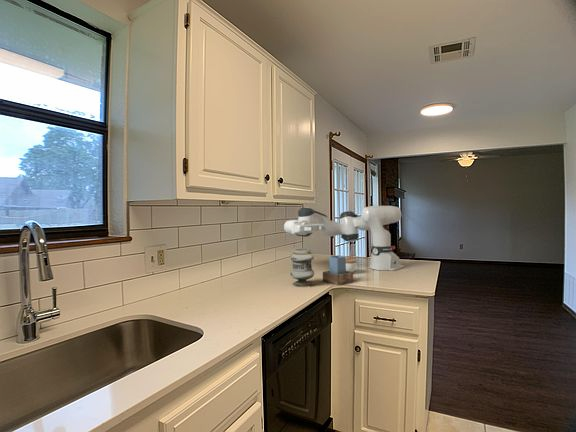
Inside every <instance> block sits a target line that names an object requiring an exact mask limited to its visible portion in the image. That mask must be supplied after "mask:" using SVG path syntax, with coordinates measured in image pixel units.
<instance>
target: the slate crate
mask: <svg viewBox="0 0 576 432" xmlns="http://www.w3.org/2000/svg"><path fill="white" fill-rule="evenodd" d="M328 257H329V259H328V260H329V262H328V263H329V264H328V267H329V269H328V271H329V273H332V274H337V275H339V274H344V273H346V258H347V256H342V255H333V256H331V255H330V256H328Z"/></svg>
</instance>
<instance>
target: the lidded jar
mask: <svg viewBox="0 0 576 432" xmlns="http://www.w3.org/2000/svg"><path fill="white" fill-rule="evenodd" d="M357 263H358V260H357V259H355V258H349V256H346V271H349V272H353V273H354V272H355V271H356V269H357V266H358V264H357Z"/></svg>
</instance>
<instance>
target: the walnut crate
mask: <svg viewBox="0 0 576 432" xmlns="http://www.w3.org/2000/svg"><path fill="white" fill-rule="evenodd" d="M322 282H324V283H328V284H332V285H336V286H341V285H345V284H346V285H347V284H350V283H353V282H354V272H349V271H346V273H344V274H339V275H337V274H332V273H329V270H326V271H322Z"/></svg>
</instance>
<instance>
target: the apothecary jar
mask: <svg viewBox="0 0 576 432" xmlns="http://www.w3.org/2000/svg"><path fill="white" fill-rule="evenodd" d="M289 258H290V260H291V261H292V269H291V271H290V276H291V278H293V279H295V280H296V281H294V282H292V285H293V286H294V287H300V288H307V287H310V286H312V285H313V283H312V282H311V281H309V279H312V278H313V277H314V276H315V271H314V270H313V269H312V268H313V267H312V261H313V260H314V259H315V258H314V254H313V253H312V252H311V249H310V248H307V247H301V248H300V247H299V248H293V251H292V253H291V254H290V257H289Z"/></svg>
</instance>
